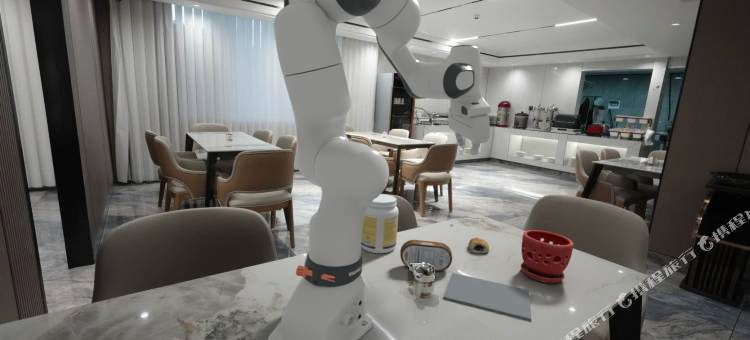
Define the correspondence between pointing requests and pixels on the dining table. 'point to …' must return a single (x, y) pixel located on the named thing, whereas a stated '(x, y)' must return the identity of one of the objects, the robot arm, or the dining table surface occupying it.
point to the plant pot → (545, 255)
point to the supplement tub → (380, 225)
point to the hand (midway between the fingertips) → (467, 149)
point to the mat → (489, 296)
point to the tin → (426, 254)
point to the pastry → (478, 245)
